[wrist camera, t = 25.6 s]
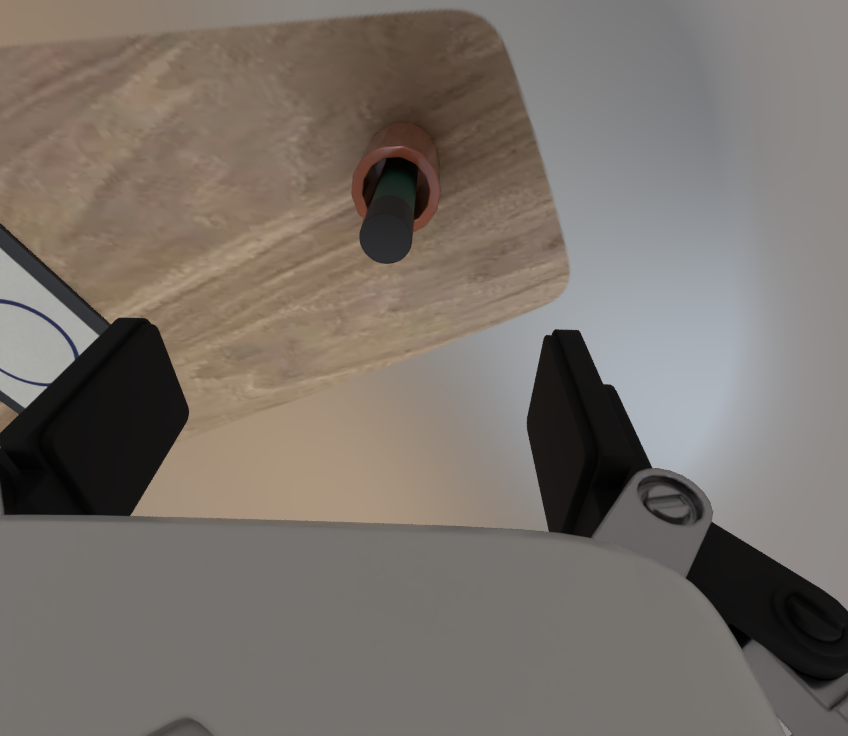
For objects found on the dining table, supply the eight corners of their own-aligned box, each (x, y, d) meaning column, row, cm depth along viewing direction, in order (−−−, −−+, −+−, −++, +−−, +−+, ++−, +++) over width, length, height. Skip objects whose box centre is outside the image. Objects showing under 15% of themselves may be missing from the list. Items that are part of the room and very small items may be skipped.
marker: (378, 157, 31) (348, 229, 20) (408, 139, 30) (394, 203, 20) (396, 189, 32) (377, 272, 22) (426, 172, 31) (421, 249, 21)
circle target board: (-122, 309, 39) (-128, 312, 39) (-7, 218, 34) (-11, 220, 34) (50, 433, 47) (47, 436, 47) (163, 372, 42) (160, 376, 42)
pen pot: (352, 146, 31) (333, 175, 25) (417, 105, 29) (412, 126, 24) (390, 211, 33) (381, 250, 28) (452, 176, 32) (455, 210, 26)
